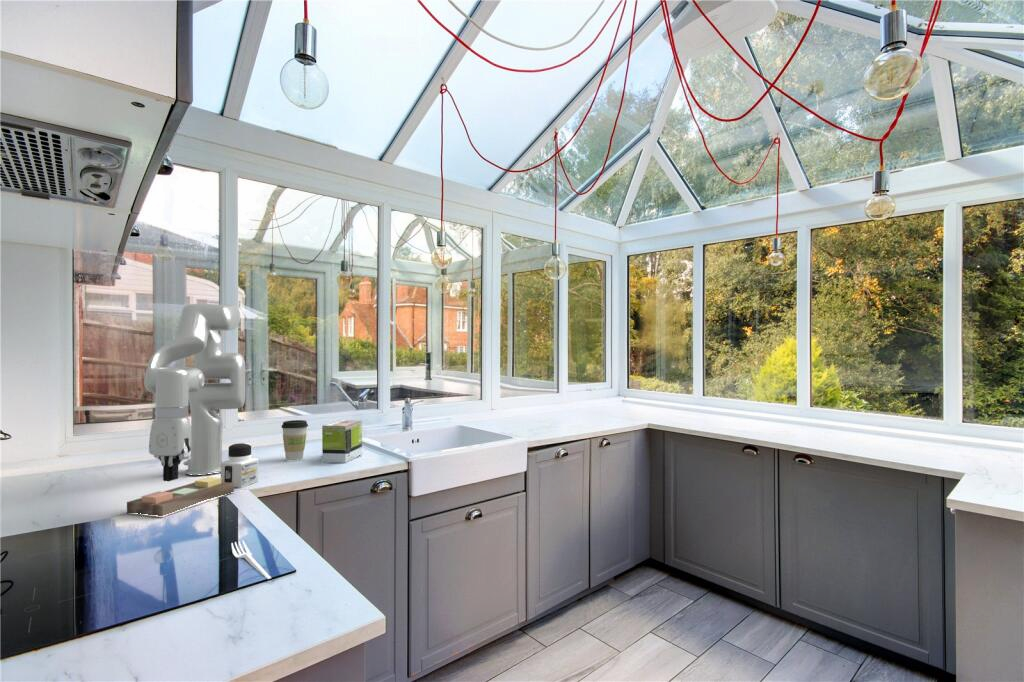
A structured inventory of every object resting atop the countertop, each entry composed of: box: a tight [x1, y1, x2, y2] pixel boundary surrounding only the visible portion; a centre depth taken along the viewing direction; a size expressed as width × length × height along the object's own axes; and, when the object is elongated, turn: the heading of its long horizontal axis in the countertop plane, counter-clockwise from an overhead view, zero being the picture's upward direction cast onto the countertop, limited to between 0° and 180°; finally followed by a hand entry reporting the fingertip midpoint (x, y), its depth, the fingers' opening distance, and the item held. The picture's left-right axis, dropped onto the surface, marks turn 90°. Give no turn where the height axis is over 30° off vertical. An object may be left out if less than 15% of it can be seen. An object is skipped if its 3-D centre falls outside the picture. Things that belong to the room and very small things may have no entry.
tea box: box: [321, 419, 363, 464], centre depth 196 cm, size 15×10×15 cm, turn 172°
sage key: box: [171, 488, 198, 495], centre depth 139 cm, size 5×5×3 cm
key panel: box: [126, 481, 235, 516], centre depth 139 cm, size 12×23×3 cm, turn 165°
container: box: [220, 442, 259, 489], centre depth 158 cm, size 8×8×13 cm
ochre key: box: [194, 476, 221, 488], centre depth 147 cm, size 5×5×3 cm
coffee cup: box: [280, 419, 309, 461], centre depth 195 cm, size 10×10×15 cm
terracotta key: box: [141, 490, 173, 504], centre depth 131 cm, size 5×5×3 cm
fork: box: [230, 539, 272, 580], centre depth 100 cm, size 3×20×2 cm, turn 45°
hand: (170, 479), depth 135 cm, fingers closed
